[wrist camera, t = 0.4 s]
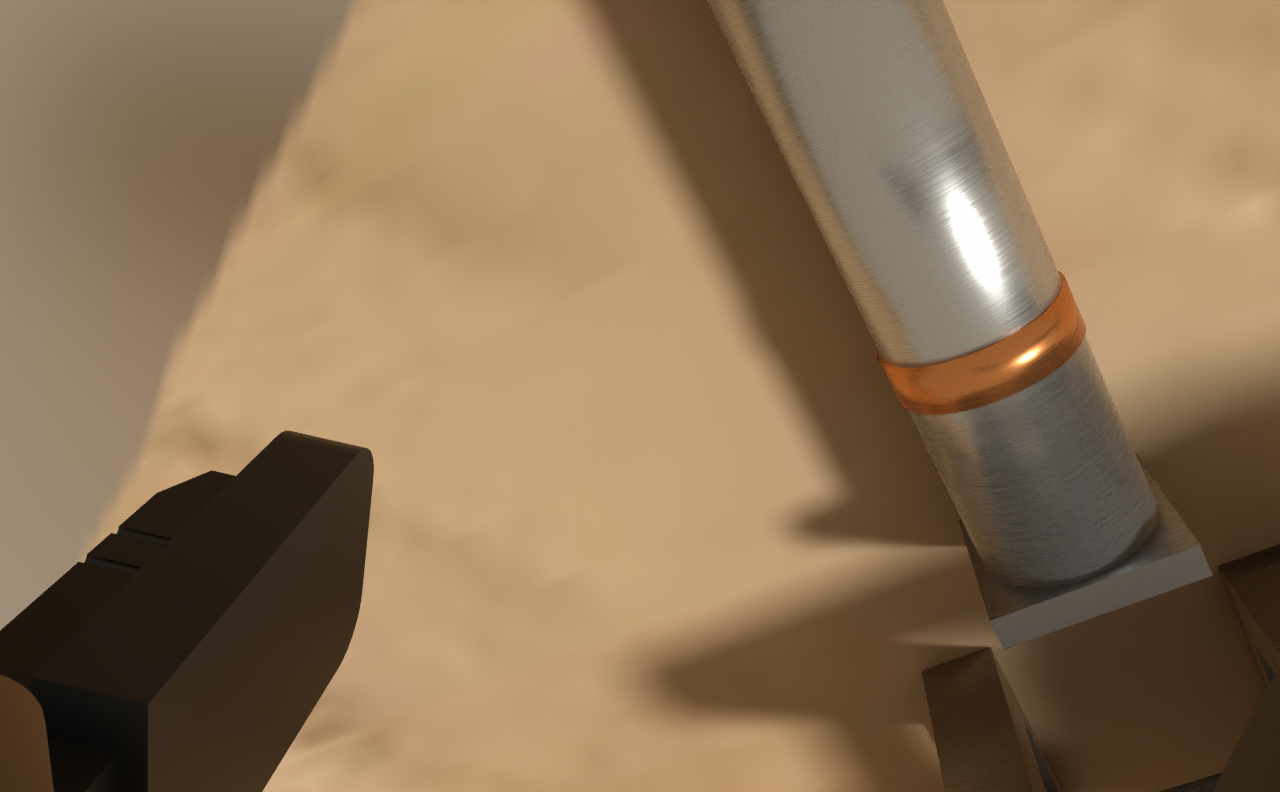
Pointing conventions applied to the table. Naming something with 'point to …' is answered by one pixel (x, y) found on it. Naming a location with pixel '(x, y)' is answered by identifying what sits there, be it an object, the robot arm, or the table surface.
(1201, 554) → the tube
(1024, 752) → the hollow square frame
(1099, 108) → the table surface
